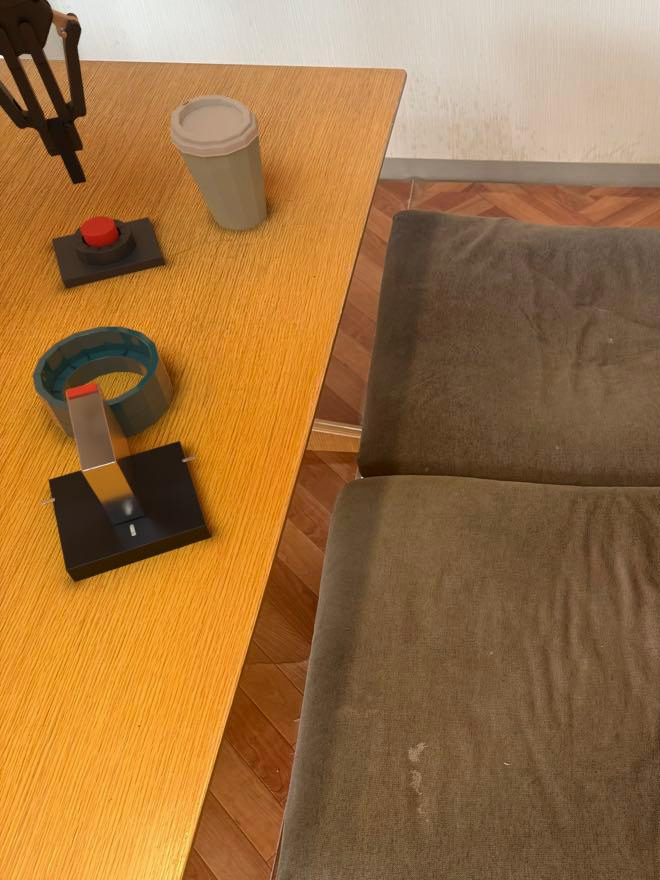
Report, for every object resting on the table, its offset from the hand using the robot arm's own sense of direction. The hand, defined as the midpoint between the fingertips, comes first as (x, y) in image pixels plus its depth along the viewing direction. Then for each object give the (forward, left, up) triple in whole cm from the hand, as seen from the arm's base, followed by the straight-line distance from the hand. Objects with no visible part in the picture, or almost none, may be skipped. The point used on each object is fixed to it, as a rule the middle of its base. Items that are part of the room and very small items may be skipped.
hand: (78, 176), depth 104 cm
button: (0, 0, -8) cm, 8 cm away
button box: (0, 0, -12) cm, 12 cm away
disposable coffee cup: (+17, +2, -12) cm, 21 cm away
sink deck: (-5, -41, -12) cm, 43 cm away
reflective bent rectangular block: (-5, -40, -9) cm, 41 cm away
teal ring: (-4, -26, -12) cm, 29 cm away
